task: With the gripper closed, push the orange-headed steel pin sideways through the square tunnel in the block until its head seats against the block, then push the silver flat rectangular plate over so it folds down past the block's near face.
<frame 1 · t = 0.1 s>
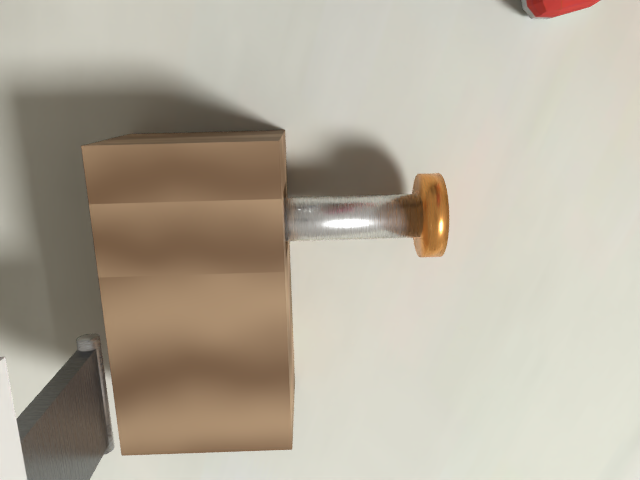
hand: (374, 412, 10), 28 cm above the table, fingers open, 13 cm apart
pin: (312, 218, 34), point 4 cm above the table, slide at 0.0 cm
silver flat rectangular plate: (55, 453, 27), point 13 cm above the table, hinge at 0.0°
block: (217, 265, 39), on the table
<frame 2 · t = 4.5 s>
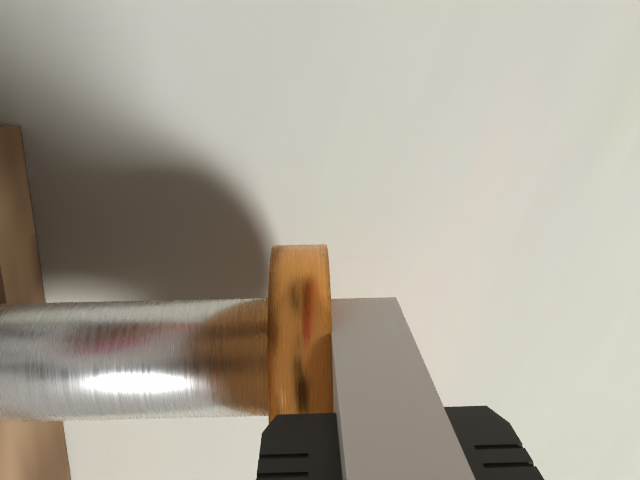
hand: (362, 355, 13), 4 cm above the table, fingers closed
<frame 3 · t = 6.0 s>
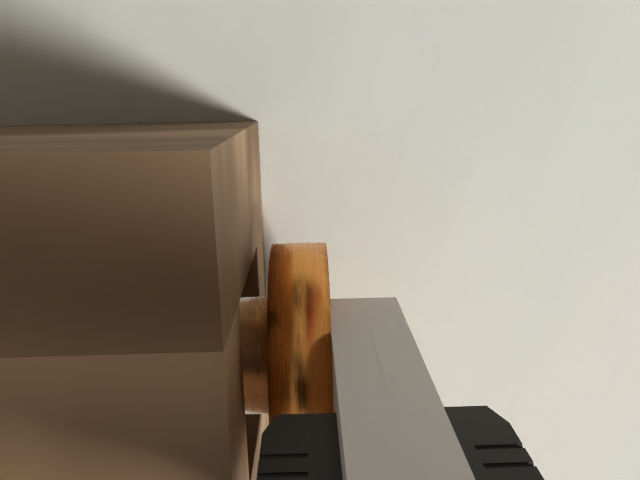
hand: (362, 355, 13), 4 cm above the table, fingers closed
block: (110, 418, 18), on the table
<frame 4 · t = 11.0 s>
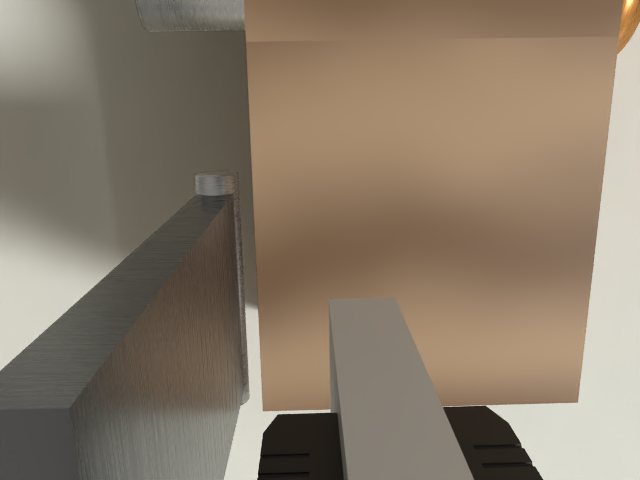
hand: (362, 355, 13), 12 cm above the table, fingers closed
silver flat rectangular plate: (184, 381, 12), point 13 cm above the table, hinge at 0.6°, touching gripper
block: (389, 107, 23), on the table
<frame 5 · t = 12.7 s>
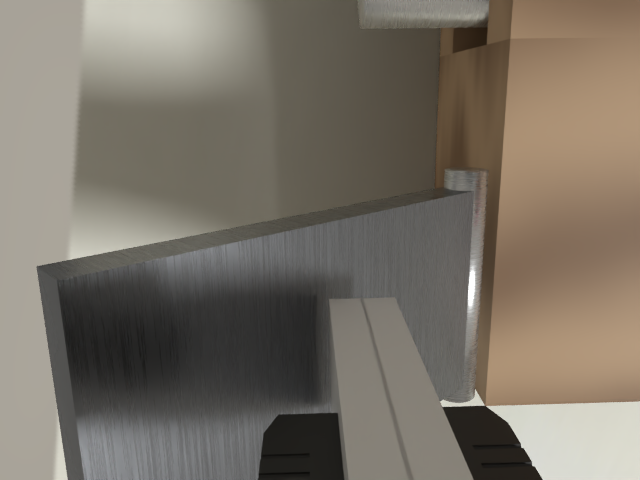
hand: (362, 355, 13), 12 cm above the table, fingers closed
silver flat rectangular plate: (328, 339, 13), point 11 cm above the table, hinge at 50.1°, touching gripper
block: (557, 105, 23), on the table
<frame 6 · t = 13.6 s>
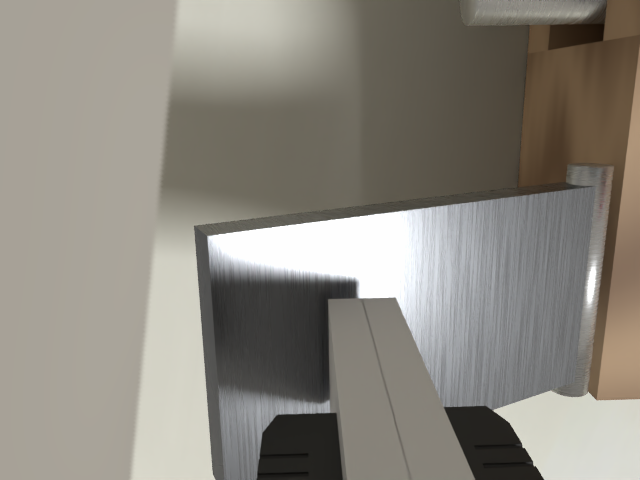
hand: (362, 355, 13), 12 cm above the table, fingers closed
silver flat rectangular plate: (434, 315, 15), point 10 cm above the table, hinge at 64.8°, touching gripper
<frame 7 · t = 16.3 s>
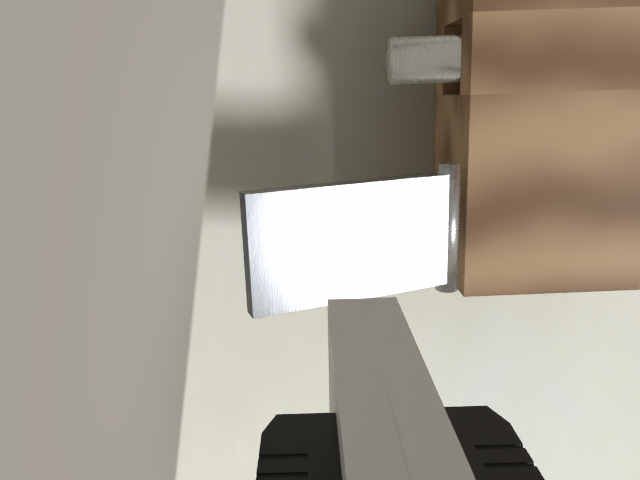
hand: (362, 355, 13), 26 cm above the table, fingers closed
pin: (521, 56, 32), point 4 cm above the table, slide at 7.6 cm
silver flat rectangular plate: (359, 240, 29), point 10 cm above the table, hinge at 69.1°
block: (510, 123, 37), on the table
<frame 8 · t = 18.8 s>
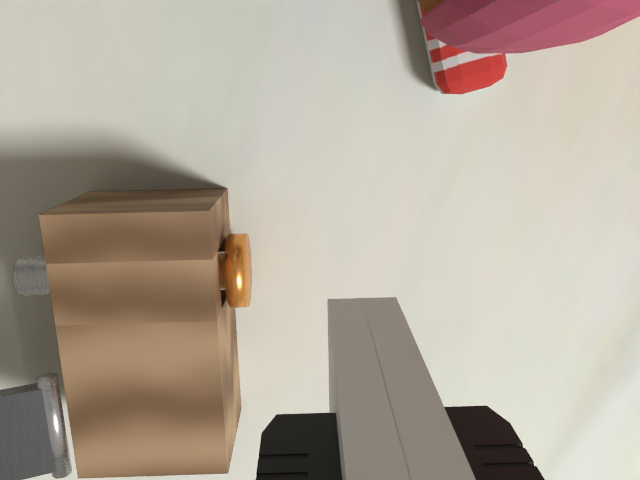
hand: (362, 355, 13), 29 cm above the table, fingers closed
pin: (135, 273, 38), point 4 cm above the table, slide at 7.6 cm
block: (169, 306, 43), on the table
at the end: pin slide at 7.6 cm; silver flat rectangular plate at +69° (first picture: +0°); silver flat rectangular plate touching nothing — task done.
